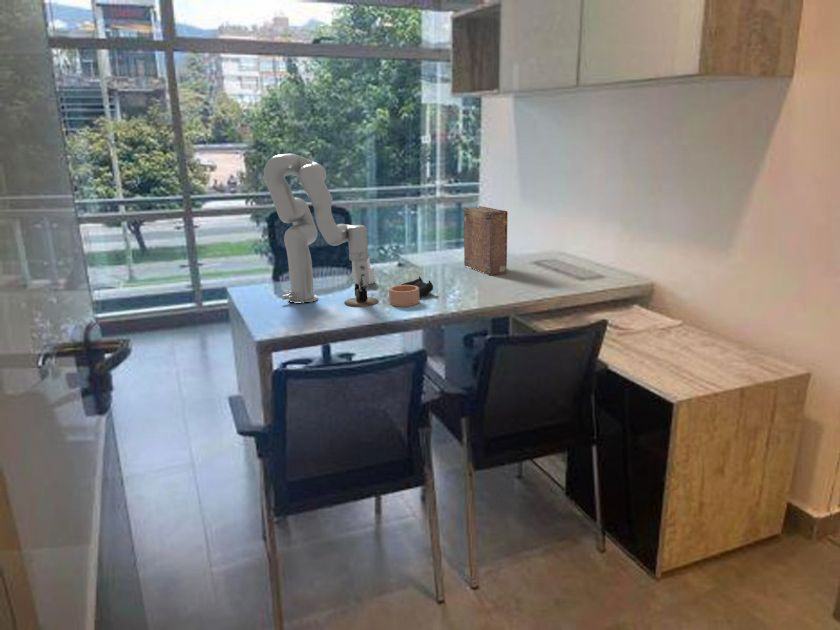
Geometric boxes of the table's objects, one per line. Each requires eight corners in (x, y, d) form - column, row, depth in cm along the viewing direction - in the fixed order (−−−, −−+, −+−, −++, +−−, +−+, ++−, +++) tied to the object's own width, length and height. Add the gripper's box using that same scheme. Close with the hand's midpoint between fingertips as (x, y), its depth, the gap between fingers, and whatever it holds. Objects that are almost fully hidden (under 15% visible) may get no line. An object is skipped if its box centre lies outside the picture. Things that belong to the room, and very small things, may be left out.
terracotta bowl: (405, 308, 248) (404, 293, 246) (383, 303, 256) (383, 289, 254) (425, 301, 257) (424, 287, 255) (403, 297, 264) (403, 283, 263)
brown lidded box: (464, 266, 320) (463, 207, 312) (479, 264, 324) (479, 206, 316) (490, 275, 298) (490, 212, 290) (506, 273, 302) (507, 211, 294)
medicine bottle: (353, 284, 289) (352, 259, 286) (362, 281, 295) (360, 256, 292) (366, 285, 286) (365, 260, 282) (375, 282, 292) (373, 257, 288)
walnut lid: (360, 309, 249) (359, 295, 248) (337, 304, 258) (336, 290, 257) (385, 302, 259) (384, 288, 258) (362, 297, 268) (361, 283, 267)
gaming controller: (421, 304, 263) (438, 289, 265) (414, 294, 260) (432, 279, 262) (403, 296, 277) (420, 282, 279) (397, 286, 274) (414, 272, 276)
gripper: (373, 258, 246) (375, 302, 251) (362, 251, 262) (364, 292, 267) (354, 260, 244) (357, 304, 249) (345, 253, 260) (347, 294, 265)
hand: (361, 298), depth 258 cm, fingers open, 7 cm apart
